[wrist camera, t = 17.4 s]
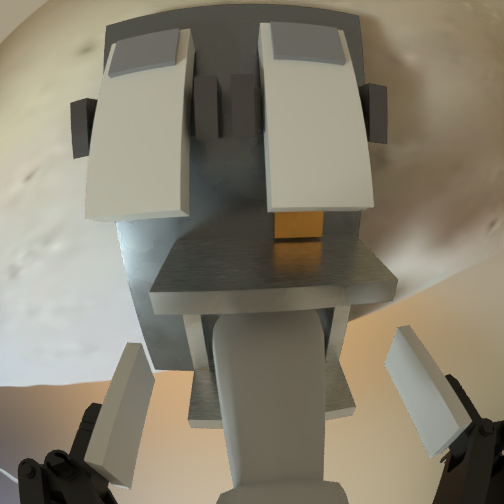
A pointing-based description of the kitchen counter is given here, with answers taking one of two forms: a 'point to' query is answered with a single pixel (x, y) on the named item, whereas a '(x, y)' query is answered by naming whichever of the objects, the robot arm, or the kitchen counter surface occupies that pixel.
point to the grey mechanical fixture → (241, 211)
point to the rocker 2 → (312, 121)
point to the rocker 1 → (142, 130)
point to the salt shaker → (273, 407)
